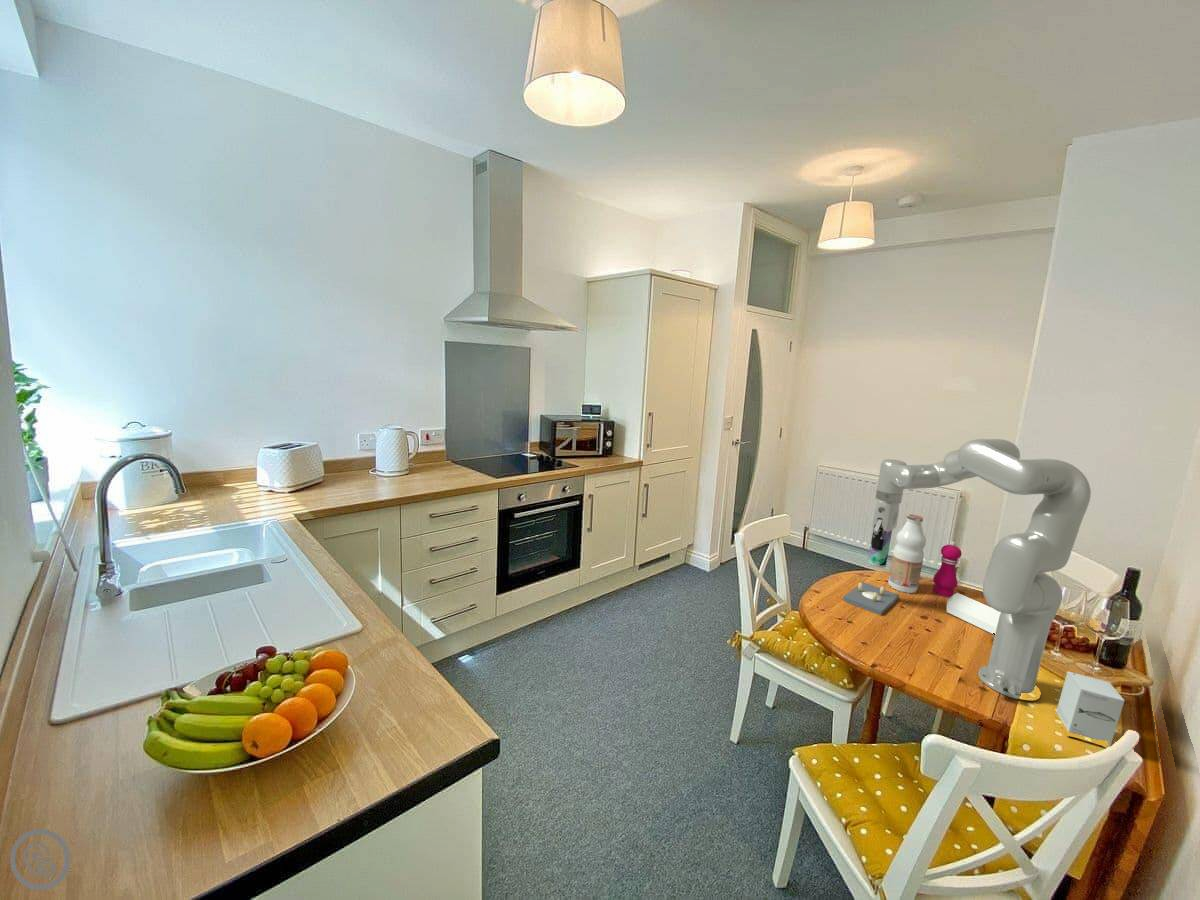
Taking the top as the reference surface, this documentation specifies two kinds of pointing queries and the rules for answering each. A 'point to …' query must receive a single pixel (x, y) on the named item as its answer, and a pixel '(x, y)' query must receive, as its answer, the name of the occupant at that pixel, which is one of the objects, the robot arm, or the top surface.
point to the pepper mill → (947, 571)
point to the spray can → (877, 556)
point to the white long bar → (973, 612)
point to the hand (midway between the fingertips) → (880, 546)
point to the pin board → (871, 598)
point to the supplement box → (1089, 707)
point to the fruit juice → (908, 556)
